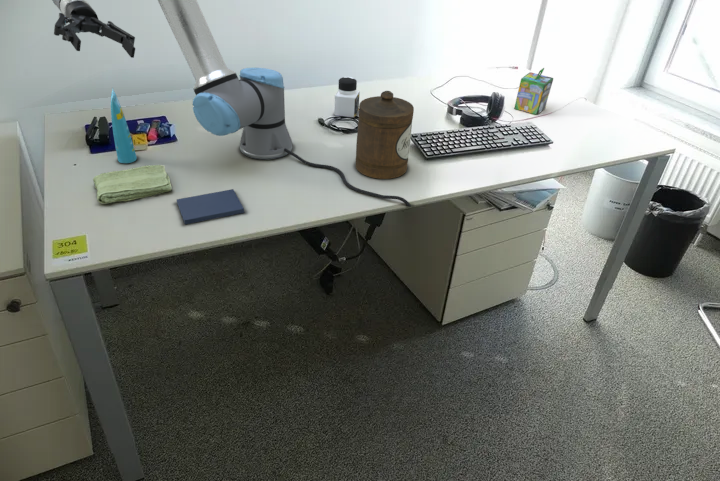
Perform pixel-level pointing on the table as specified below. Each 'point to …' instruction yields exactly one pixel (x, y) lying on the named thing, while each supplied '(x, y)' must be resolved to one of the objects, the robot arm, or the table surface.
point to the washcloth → (131, 184)
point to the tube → (121, 133)
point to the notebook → (209, 206)
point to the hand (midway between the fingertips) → (107, 49)
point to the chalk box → (533, 93)
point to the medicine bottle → (347, 98)
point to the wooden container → (383, 136)
